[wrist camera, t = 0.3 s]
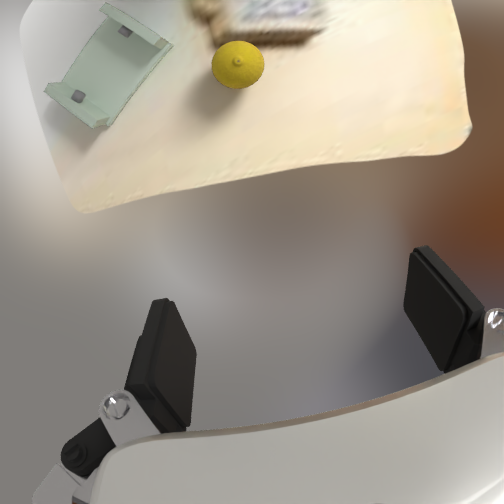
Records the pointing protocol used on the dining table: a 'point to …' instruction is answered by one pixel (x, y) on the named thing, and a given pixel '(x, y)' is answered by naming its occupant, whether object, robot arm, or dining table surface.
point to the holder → (109, 68)
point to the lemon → (237, 64)
